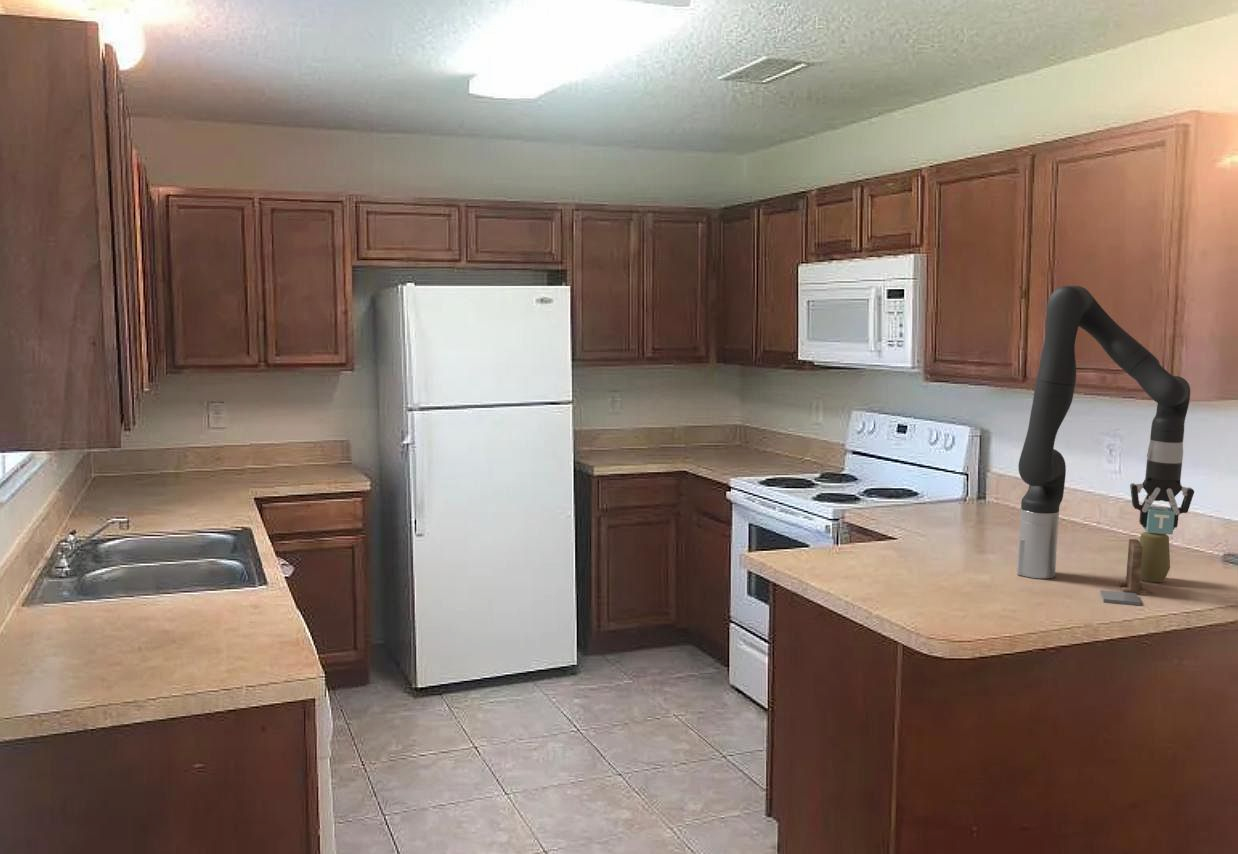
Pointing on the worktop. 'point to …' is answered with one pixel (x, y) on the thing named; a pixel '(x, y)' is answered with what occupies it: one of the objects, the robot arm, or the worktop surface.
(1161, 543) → the squeeze bottle
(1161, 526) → the cube
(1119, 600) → the coaster
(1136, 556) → the screen
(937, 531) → the worktop surface
